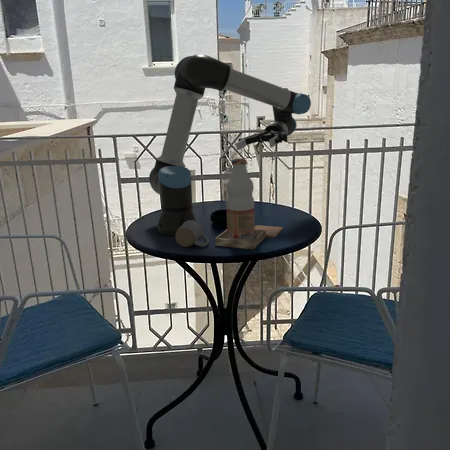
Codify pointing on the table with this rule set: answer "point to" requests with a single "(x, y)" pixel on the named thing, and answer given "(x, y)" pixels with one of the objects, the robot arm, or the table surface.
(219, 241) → the birch collar
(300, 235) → the table surface
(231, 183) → the fruit juice
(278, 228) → the terracotta tile
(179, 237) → the ceramic mug
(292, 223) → the table surface
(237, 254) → the table surface
